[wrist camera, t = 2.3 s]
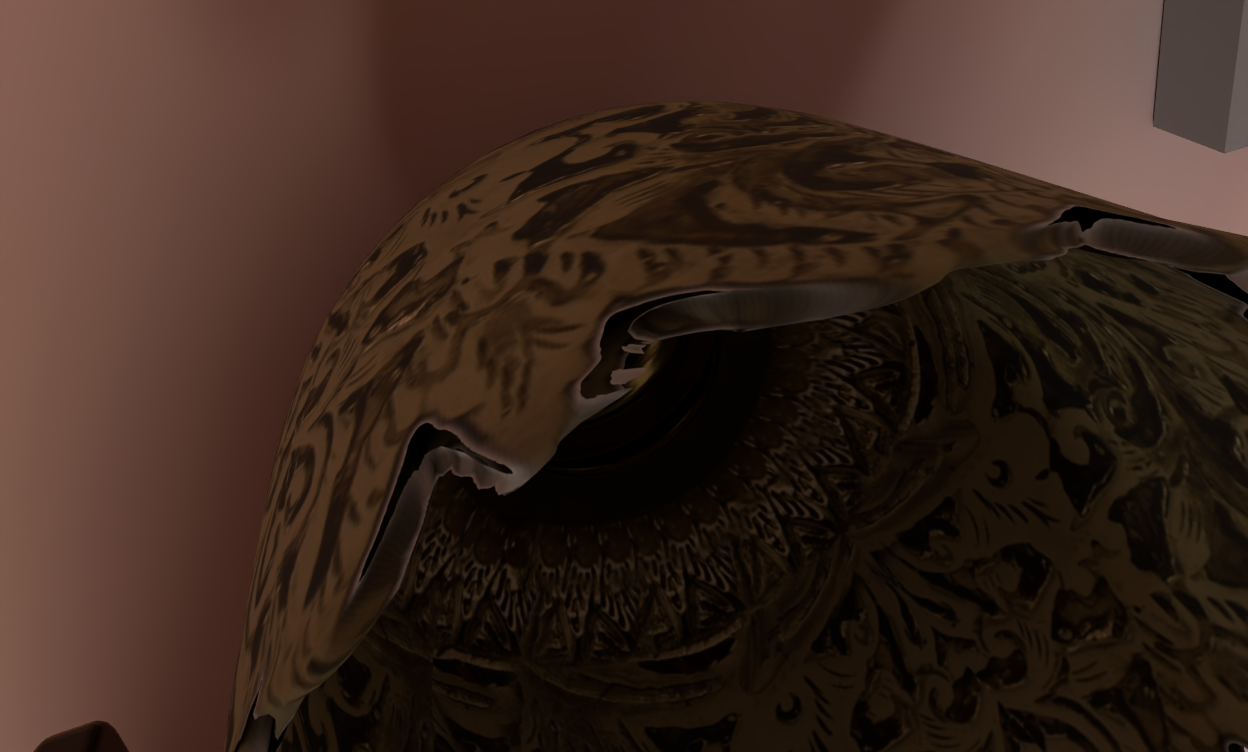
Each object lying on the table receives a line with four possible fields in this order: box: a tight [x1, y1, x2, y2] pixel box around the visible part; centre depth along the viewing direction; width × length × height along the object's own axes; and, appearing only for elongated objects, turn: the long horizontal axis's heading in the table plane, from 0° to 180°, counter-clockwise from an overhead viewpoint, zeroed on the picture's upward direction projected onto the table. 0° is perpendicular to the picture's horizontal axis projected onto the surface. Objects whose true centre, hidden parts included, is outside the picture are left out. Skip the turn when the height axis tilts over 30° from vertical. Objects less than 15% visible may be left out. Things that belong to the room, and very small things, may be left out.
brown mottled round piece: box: [223, 101, 1248, 752], centre depth 9 cm, size 8×7×8 cm
